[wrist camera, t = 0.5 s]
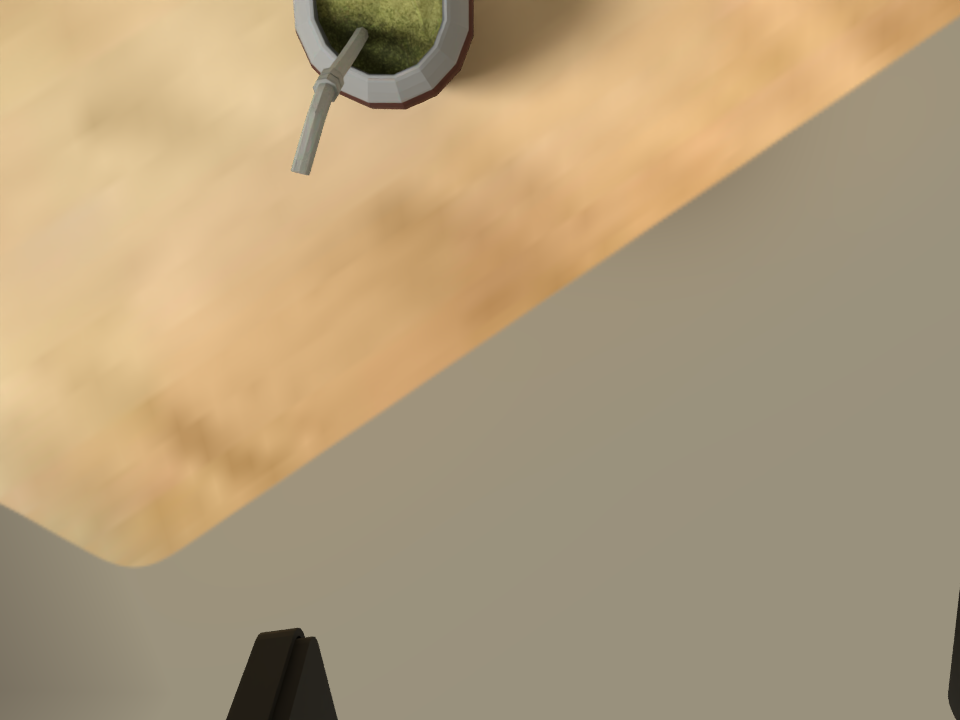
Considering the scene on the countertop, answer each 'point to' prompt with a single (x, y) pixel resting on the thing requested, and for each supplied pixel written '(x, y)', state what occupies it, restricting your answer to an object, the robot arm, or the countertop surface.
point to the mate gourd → (378, 55)
